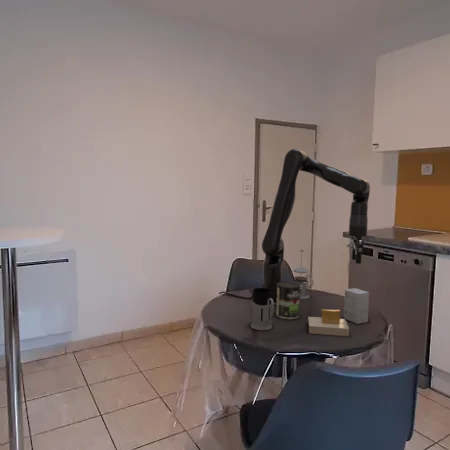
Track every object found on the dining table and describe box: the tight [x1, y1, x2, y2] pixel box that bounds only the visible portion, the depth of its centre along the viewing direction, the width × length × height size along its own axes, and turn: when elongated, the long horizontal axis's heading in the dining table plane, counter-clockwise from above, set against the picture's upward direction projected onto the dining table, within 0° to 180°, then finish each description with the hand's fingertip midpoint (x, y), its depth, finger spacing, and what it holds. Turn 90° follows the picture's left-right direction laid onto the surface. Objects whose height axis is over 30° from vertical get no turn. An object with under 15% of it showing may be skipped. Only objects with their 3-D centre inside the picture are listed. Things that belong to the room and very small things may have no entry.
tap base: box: [307, 316, 350, 337], centre depth 152 cm, size 15×11×3 cm
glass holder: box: [250, 287, 275, 331], centre depth 152 cm, size 9×14×15 cm, turn 20°
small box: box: [343, 287, 370, 325], centre depth 163 cm, size 8×6×13 cm
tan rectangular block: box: [320, 308, 341, 324], centre depth 151 cm, size 7×2×5 cm, turn 80°
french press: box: [292, 248, 314, 300], centre depth 198 cm, size 10×12×25 cm
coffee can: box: [275, 281, 301, 320], centre depth 168 cm, size 10×10×14 cm
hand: (356, 261), depth 167 cm, fingers open, 8 cm apart
